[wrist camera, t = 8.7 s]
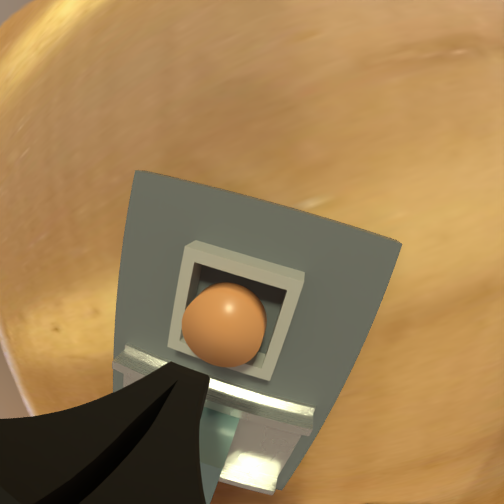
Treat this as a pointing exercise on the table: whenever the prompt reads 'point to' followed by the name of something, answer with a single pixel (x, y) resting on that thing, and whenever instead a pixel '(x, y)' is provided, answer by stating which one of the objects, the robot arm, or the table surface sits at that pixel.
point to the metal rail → (240, 422)
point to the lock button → (225, 324)
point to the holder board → (254, 285)
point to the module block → (214, 446)
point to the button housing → (243, 267)
